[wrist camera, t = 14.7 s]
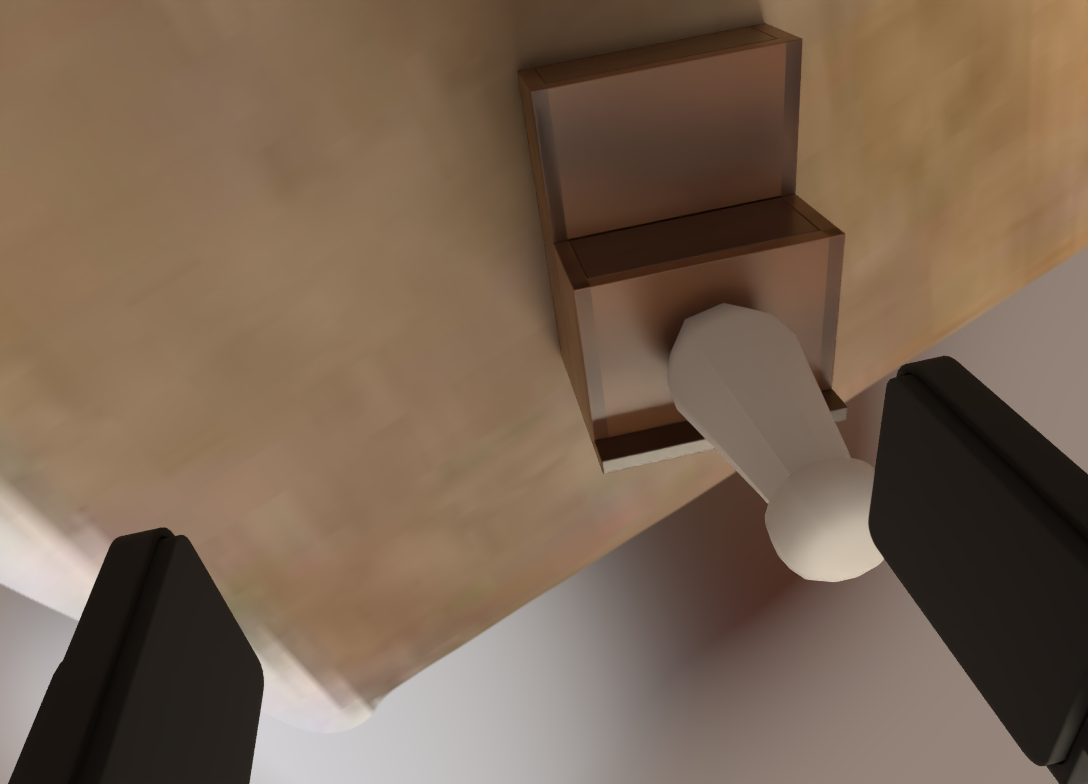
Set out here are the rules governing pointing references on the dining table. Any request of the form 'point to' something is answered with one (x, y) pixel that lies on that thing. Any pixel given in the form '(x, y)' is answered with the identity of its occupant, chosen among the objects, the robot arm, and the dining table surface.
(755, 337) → the salt shaker
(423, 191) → the dining table surface
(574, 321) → the spice rack
